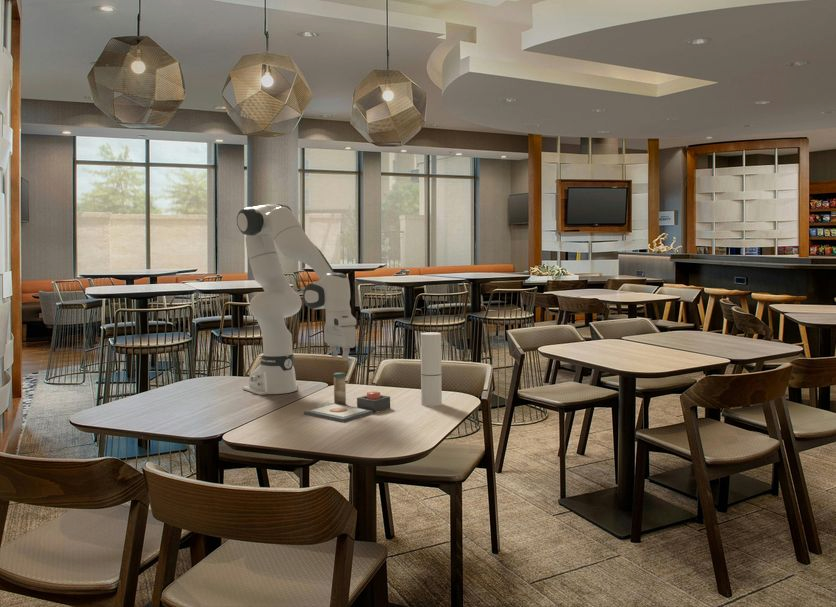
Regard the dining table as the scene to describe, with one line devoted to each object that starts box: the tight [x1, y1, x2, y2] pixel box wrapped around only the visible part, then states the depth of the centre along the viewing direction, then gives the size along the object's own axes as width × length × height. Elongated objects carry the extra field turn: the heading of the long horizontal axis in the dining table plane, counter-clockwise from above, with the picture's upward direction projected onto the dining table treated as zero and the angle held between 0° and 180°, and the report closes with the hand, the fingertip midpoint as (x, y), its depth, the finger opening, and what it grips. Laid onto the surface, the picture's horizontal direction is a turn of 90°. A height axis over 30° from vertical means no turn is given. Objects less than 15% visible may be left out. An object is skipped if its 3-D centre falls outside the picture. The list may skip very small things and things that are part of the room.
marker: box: [333, 372, 347, 406], centre depth 233 cm, size 4×4×11 cm
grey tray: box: [303, 402, 374, 423], centre depth 221 cm, size 18×14×1 cm
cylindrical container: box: [420, 331, 443, 407], centre depth 232 cm, size 7×7×25 cm
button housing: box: [356, 394, 391, 414], centre depth 227 cm, size 8×8×4 cm
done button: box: [366, 391, 381, 400], centre depth 227 cm, size 5×5×3 cm
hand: (339, 358), depth 232 cm, fingers open, 8 cm apart
